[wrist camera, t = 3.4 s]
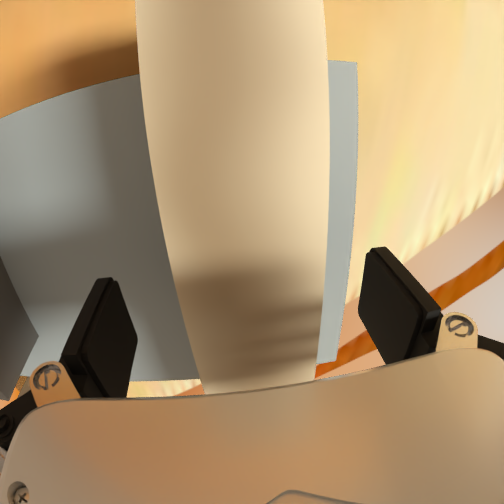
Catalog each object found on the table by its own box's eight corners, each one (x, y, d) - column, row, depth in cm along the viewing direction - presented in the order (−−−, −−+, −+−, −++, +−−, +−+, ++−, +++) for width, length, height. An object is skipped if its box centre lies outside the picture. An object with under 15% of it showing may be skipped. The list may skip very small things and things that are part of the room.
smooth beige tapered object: (278, -41, 7) (309, -93, 3) (288, 415, 19) (300, 466, 15) (161, -33, 7) (136, -84, 3) (228, 423, 18) (233, 475, 15)
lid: (334, 65, 12) (434, 55, 6) (324, 333, 20) (361, 428, 13) (-78, 165, 11) (-150, 211, 4) (-1, 350, 18) (-35, 418, 12)
